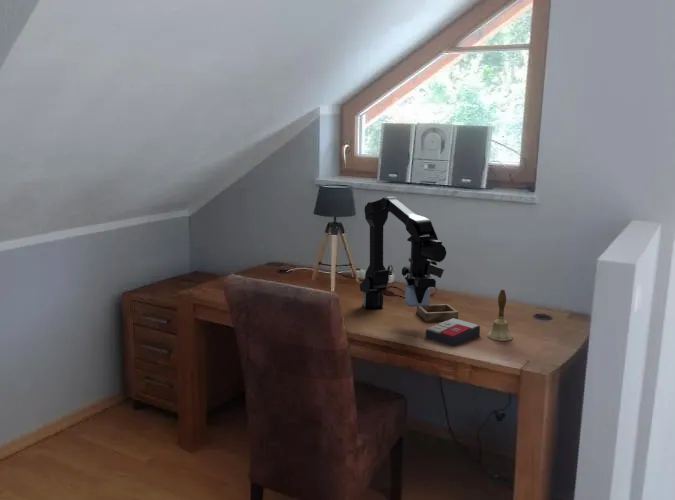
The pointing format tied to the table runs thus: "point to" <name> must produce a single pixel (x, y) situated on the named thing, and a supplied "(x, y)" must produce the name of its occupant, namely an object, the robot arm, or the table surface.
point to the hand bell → (500, 322)
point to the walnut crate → (437, 312)
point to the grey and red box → (453, 332)
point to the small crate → (411, 297)
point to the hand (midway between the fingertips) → (417, 301)
